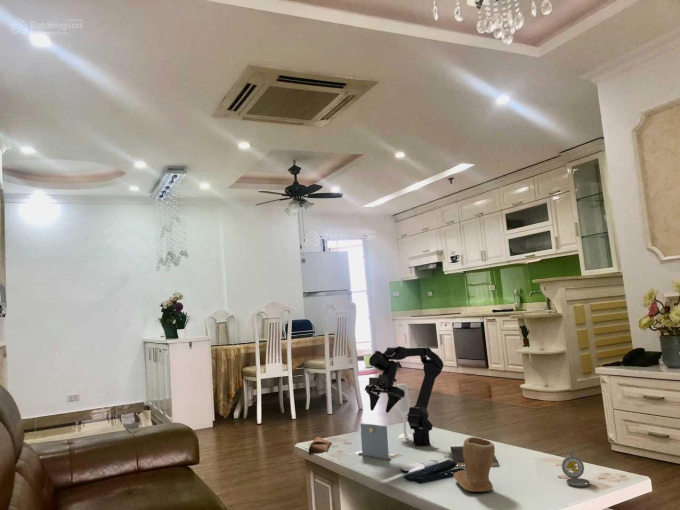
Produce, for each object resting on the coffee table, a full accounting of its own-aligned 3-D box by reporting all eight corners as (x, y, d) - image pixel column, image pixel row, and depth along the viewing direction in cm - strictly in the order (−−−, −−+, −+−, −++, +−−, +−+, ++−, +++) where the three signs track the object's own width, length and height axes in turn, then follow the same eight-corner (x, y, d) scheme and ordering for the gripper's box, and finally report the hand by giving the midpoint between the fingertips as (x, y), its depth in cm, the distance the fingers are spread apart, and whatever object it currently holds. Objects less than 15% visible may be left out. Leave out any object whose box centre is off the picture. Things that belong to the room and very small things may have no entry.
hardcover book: (453, 468, 187) (452, 461, 187) (450, 452, 209) (450, 446, 210) (498, 467, 184) (498, 460, 185) (491, 451, 207) (490, 445, 207)
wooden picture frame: (375, 452, 214) (374, 448, 214) (404, 458, 202) (404, 453, 203) (358, 457, 207) (358, 453, 207) (388, 463, 196) (388, 458, 196)
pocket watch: (580, 489, 155) (576, 454, 156) (557, 482, 162) (553, 449, 164) (598, 484, 159) (594, 450, 160) (574, 477, 166) (571, 445, 168)
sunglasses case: (328, 452, 218) (319, 438, 219) (315, 461, 218) (306, 448, 219) (332, 442, 236) (324, 430, 237) (320, 451, 236) (311, 438, 237)
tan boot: (503, 493, 155) (498, 442, 157) (464, 496, 155) (459, 444, 157) (489, 479, 170) (484, 432, 172) (453, 481, 170) (449, 434, 172)
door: (364, 453, 207) (362, 423, 209) (388, 458, 198) (386, 426, 200) (360, 455, 206) (358, 424, 207) (385, 459, 197) (382, 427, 198)
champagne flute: (397, 438, 237) (394, 385, 240) (398, 435, 243) (395, 383, 247) (412, 438, 236) (408, 384, 239) (412, 435, 242) (409, 383, 246)
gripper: (361, 367, 220) (350, 403, 214) (391, 368, 206) (381, 406, 199) (378, 376, 226) (369, 411, 219) (409, 378, 211) (400, 415, 205)
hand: (379, 411), depth 211 cm, fingers open, 9 cm apart
